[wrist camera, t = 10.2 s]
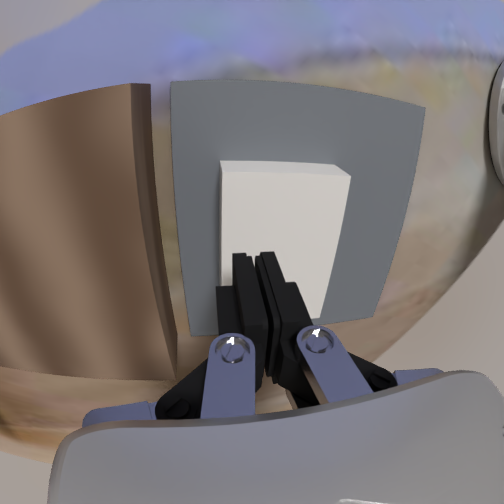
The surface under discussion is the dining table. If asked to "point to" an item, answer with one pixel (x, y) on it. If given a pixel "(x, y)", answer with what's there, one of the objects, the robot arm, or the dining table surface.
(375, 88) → the dining table surface
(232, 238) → the white rectangular slab
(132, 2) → the dining table surface
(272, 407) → the dining table surface
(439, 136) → the dining table surface
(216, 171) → the mat
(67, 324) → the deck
